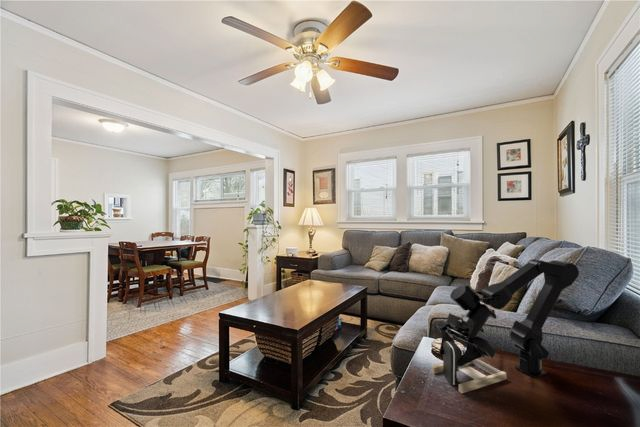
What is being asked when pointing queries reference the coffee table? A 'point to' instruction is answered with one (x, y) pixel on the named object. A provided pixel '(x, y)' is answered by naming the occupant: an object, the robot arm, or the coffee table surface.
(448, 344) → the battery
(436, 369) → the guide channel
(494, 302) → the robot arm
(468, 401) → the coffee table surface
